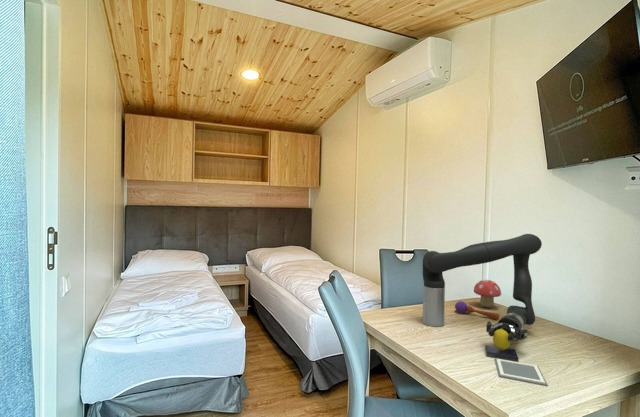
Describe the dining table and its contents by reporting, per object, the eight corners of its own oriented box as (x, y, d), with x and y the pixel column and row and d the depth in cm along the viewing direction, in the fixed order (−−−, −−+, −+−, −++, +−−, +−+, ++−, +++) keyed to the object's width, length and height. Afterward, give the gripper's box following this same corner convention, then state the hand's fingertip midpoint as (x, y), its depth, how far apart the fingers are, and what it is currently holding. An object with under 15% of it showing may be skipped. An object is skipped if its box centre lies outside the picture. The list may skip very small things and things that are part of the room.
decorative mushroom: (471, 302, 186) (471, 276, 186) (497, 305, 183) (497, 278, 183) (475, 310, 173) (476, 281, 173) (504, 312, 170) (504, 283, 170)
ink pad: (486, 356, 118) (486, 352, 118) (484, 347, 126) (484, 344, 126) (518, 362, 114) (518, 357, 114) (514, 352, 122) (514, 348, 122)
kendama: (497, 314, 155) (453, 302, 167) (496, 325, 156) (453, 313, 168) (500, 308, 160) (457, 298, 172) (499, 319, 161) (456, 308, 173)
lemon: (489, 347, 123) (489, 326, 123) (503, 347, 123) (504, 325, 123) (498, 354, 117) (499, 331, 117) (513, 353, 117) (513, 331, 117)
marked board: (499, 376, 104) (499, 374, 104) (494, 359, 116) (494, 357, 116) (547, 386, 99) (547, 383, 99) (538, 367, 111) (538, 365, 111)
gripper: (491, 310, 135) (478, 320, 123) (532, 319, 126) (522, 331, 113) (491, 329, 135) (478, 340, 123) (532, 338, 126) (522, 352, 113)
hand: (499, 336), depth 118 cm, fingers closed on lemon, 5 cm apart
